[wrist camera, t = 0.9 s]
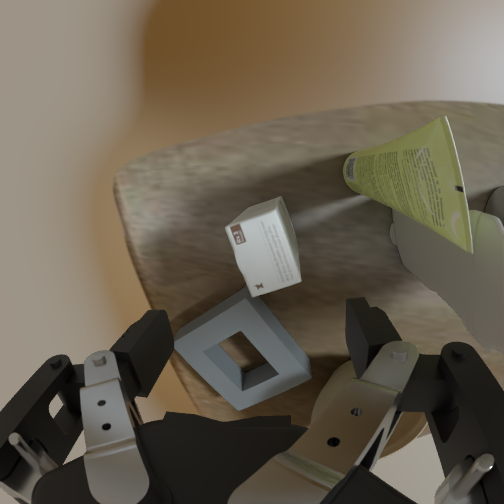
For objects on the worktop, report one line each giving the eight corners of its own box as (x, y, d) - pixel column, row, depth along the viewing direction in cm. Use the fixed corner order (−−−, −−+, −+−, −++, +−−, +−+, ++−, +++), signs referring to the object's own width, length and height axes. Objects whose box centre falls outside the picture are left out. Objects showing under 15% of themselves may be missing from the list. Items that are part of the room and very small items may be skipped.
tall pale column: (423, 266, 32) (530, 366, 11) (395, 275, 33) (492, 392, 12) (409, 184, 29) (552, 221, 8) (380, 192, 30) (513, 240, 9)
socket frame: (249, 283, 35) (245, 298, 31) (310, 359, 37) (312, 378, 34) (180, 328, 38) (170, 343, 34) (241, 392, 40) (238, 410, 36)
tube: (394, 168, 29) (509, 180, 11) (373, 205, 31) (473, 256, 12) (354, 141, 29) (445, 114, 10) (333, 179, 30) (404, 198, 12)
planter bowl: (422, 337, 35) (453, 384, 25) (385, 413, 40) (400, 460, 29) (319, 330, 36) (329, 386, 26) (295, 411, 41) (296, 465, 30)
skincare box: (299, 243, 33) (308, 284, 21) (262, 255, 34) (252, 302, 22) (281, 192, 32) (280, 207, 20) (243, 206, 32) (222, 228, 21)
